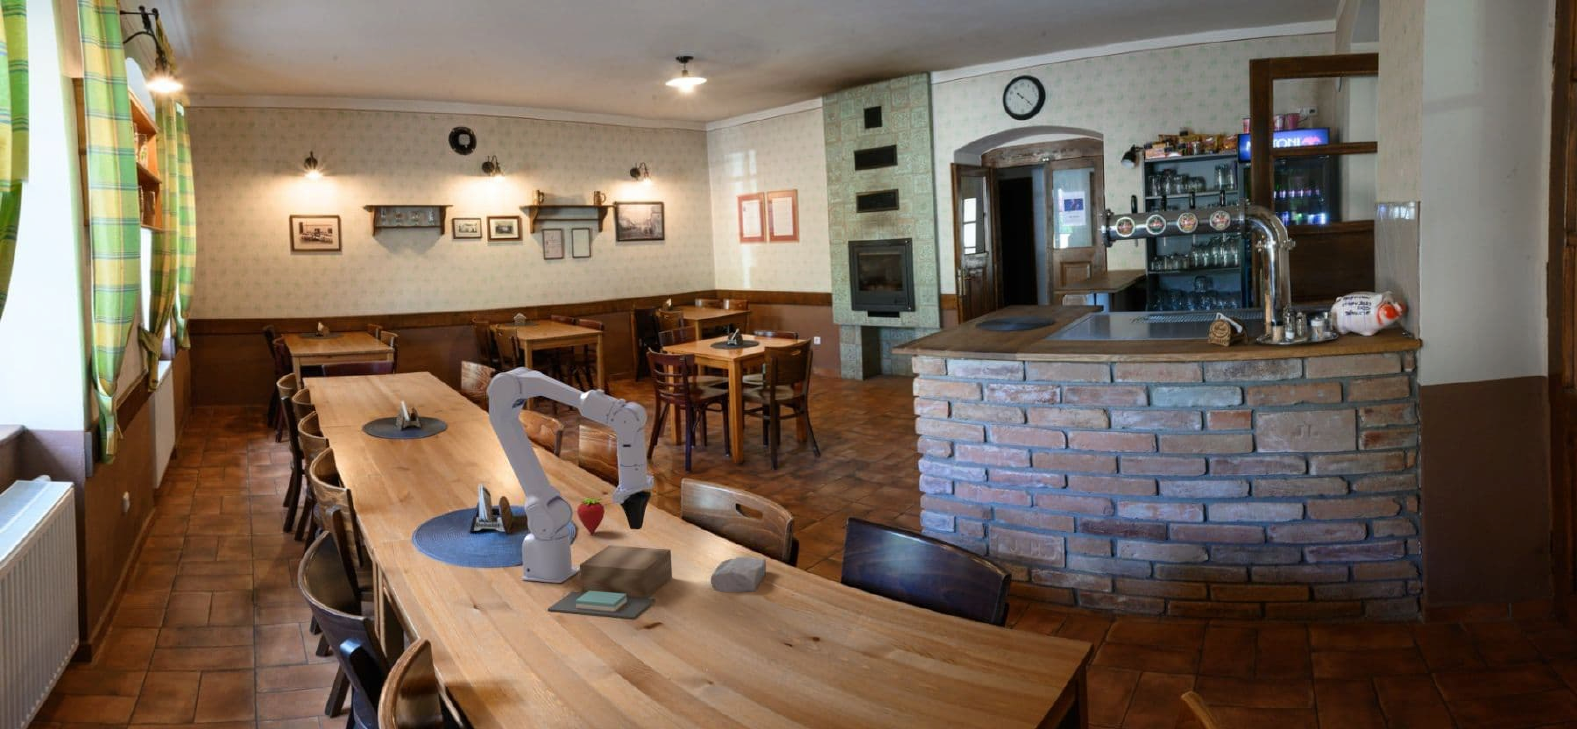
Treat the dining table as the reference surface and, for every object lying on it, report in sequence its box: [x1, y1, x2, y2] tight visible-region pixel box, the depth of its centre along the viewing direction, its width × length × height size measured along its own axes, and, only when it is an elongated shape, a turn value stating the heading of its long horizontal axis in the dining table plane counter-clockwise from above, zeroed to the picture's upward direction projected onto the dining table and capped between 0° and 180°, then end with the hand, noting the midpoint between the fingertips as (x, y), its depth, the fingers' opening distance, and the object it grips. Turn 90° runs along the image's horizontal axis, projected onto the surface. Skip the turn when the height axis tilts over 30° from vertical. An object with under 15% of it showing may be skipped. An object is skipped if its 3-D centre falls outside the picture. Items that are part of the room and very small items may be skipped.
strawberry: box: [576, 492, 605, 534], centre depth 219 cm, size 6×8×10 cm
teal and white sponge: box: [576, 591, 627, 611], centre depth 173 cm, size 8×5×2 cm, turn 72°
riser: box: [579, 544, 673, 598], centre depth 184 cm, size 14×12×6 cm
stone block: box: [710, 556, 767, 593], centre depth 184 cm, size 12×5×10 cm
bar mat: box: [547, 590, 656, 620], centre depth 174 cm, size 18×9×1 cm, turn 72°
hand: (636, 528), depth 187 cm, fingers closed
